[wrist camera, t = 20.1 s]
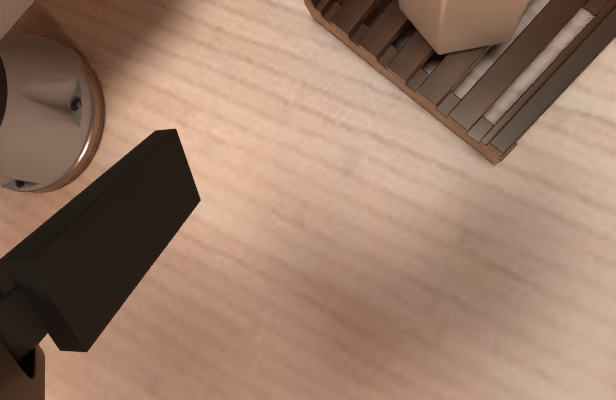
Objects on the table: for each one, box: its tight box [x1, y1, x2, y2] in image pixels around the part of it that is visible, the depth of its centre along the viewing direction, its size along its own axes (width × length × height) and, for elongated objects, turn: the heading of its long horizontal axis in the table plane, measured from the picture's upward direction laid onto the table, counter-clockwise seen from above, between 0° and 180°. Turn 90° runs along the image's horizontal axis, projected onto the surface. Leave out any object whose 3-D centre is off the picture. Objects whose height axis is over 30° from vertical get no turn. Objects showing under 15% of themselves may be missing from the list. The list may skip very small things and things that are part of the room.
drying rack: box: [304, 0, 616, 165], centre depth 31 cm, size 19×14×6 cm
